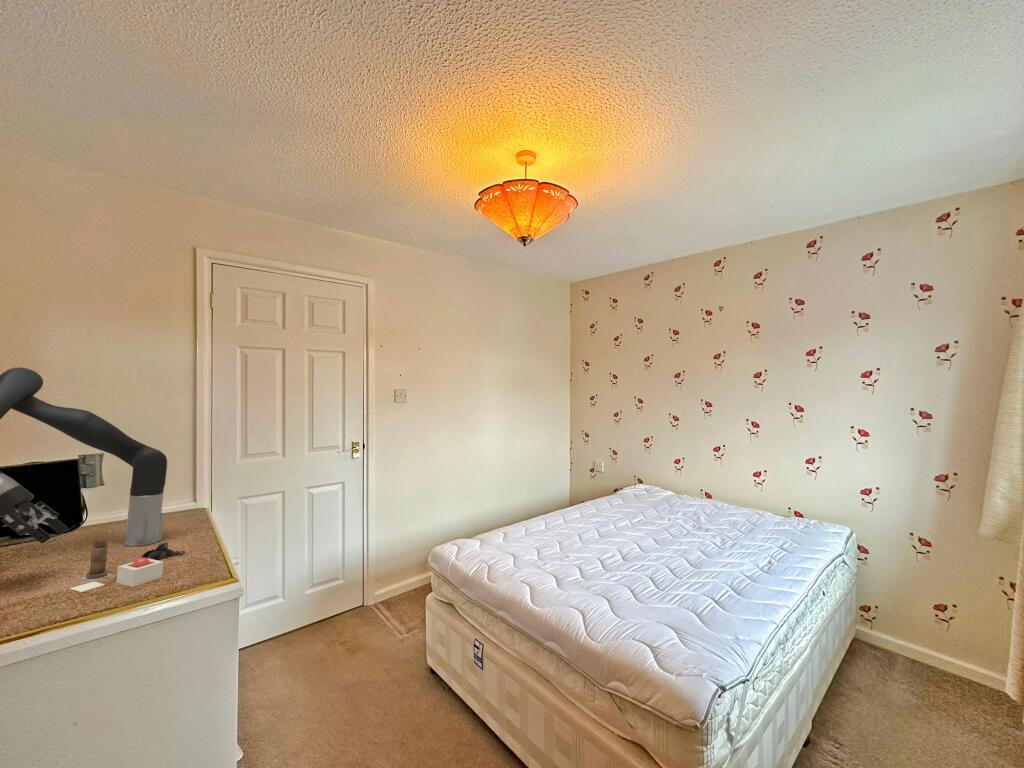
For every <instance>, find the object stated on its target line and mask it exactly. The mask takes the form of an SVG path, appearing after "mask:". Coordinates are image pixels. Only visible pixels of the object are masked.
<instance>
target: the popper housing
mask: <svg viewBox="0 0 1024 768" xmlns="http://www.w3.org/2000/svg"><path fill="white" fill-rule="evenodd" d="M147 559H149V558H147ZM149 561H150V563H151V564H149V565H146V566H142V567H139V568H135V567H132V565H133V563H134V562H135V561H131V562H129V563H125V564H122V565H118V566H117V573H116V583H117V584H121V585H125V586H127V587H132V588H134V587H137V586H139V585H140V586H141V585H143V584H146V583H149V582H153V581H155V580H158V579H161V578H163V571H164V561H162V560H155V559H149Z"/></svg>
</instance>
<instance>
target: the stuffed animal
mask: <svg viewBox="0 0 1024 768" xmlns="http://www.w3.org/2000/svg"><path fill="white" fill-rule="evenodd" d="M186 552H187V551H186V550H184V549H181V550H175V551H174V550H172V549H170V548H169V543H168V542H167V541H165V542H160V543H159V544H158V546H156V549H151V550H148V551H145V552H144V553H143V554H142V556H140V558H149V559H153V560H158V561H161V560H164V559H166V558H167V557H169V558H170V557H177V556H180V557H182V556H183V555H185V554H186Z"/></svg>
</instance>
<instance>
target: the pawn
mask: <svg viewBox="0 0 1024 768" xmlns="http://www.w3.org/2000/svg"><path fill="white" fill-rule="evenodd" d="M108 549H109V545H108V539H107V538H106V537H103V536H100V537H98V538H96V539H95V540H94V541H93V546H92V547H91V554H90V555H91V556H90V565H89V572H87V573H86V574H85V576H86V579H97V578H100V579H103V578H102V577H104V578H106V577H105V576H107V575H108V573H109V570H108V569H106V568H107V567H106V566H107V559H108V558H107V557H108ZM107 577H108V576H107ZM97 580H98V579H97Z"/></svg>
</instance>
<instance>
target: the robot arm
mask: <svg viewBox="0 0 1024 768" xmlns="http://www.w3.org/2000/svg"><path fill="white" fill-rule="evenodd" d="M43 385H44V379H43V377H42V376H41V375H40V374H39V373H38V372H37V371H35V370H32V369H30V368H27V367H12V368H10V369H7V370H5V371H4V372H2V373H1V374H0V420H2V418H4V417H5V415H6V414H8V412H9V411H11V410H14V411H16V412H19V413H21V414H23V415H25V416H28V417H31V418H32V419H36V420H37V421H40V422H42V423H43V424H45V425H47V426H50V427H51V428H53V429H55V430H57V431H60V432H61V433H63V434H65V435H66V436H68V437H70V438H72V439H73V440H76V441H77V442H80V443H81V444H84V445H86V446H88V447H91V448H93V449H96V450H99V451H102V452H105V453H108V454H110V455H113V456H114V457H117V458H118V459H120V460H121V461H123V462H125V463H126V464H128V465H129V466H131V467H132V476H131V484H130V489H129V491H130V492H129V499H128V509H127V510H128V511H127V518H126V519H127V521H126V530H125V531H126V532H125V539H124V540H125V541H124V542H125V543H124V545H125V546H129V547H136V546H137V547H139V546H146V545H151V544H154V543H157V542H158V541H159V542H160V541H162V540H163V532H164V524H165V523H164V521H165V513H164V512H163V502H164V501H163V500H164V491H165V485H166V479H167V472H168V471H167V470H168V469H167V468H168V458H167V455H165V454H164V453H163V452H162V451H161V450H159V449H156V448H154V447H151V446H149V445H147V444H144V443H142V442H140V441H138V440H136V439H134V438H132V437H131V436H129V435H128V434H126V433H125V432H123V431H122V430H121V429H119V428H118V427H116V426H115V425H114V424H113V423H110V422H109V421H108V420H106V419H104V418H103V417H101V416H99V415H97V414H95V413H94V412H91V411H89V410H85V409H80V408H72V407H65V406H57V405H54V404H51V403H48V402H46V401H44V400H42V399H39V398H37V397H36V396H34V395H36V394H37V393H38V392H39V391H41V389H42V387H43ZM34 497H35V494H33V493H31V492H30V491H29V490H28V489H26V488H25V487H24V486H23V485H21V484H20V483H18V482H17V481H16V480H14V479H13V478H11V477H10V476H8V475H7V474H6V473H5V474H4V472H2V471H0V518H2V519H1V520H0V521H1V522H2V523H4V524H5V525H6V526H7V527H8V528H9V529H11V530H12V531H13V532H14V533H16V534H17V535H19V536H23V535H27V536H29V535H30V536H31V538H33V539H35V540H36V541H38V542H39V543H40V544H45V543H47V541H50V539H52V535H51V534H49V533H48V532H47V531H45V530H44V529H43V528H42V527H40V526H39V525H38V524H43V525H46V526H47V527H49V528H51V530H52V531H54V532H56V534H58V535H60V534H62V533H64V532H66V530H68V528H69V527H68V526H67V524H65V523H63V521H61V520H59V519H58V518H59V516H60V513H59V512H58V511H55V510H54V508H52V507H50V506H49V505H47V504H46V503H44V502H43V501H41V500H40V501H38V502H37V503H33V502H31V501H32V500H33V499H34Z"/></svg>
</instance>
